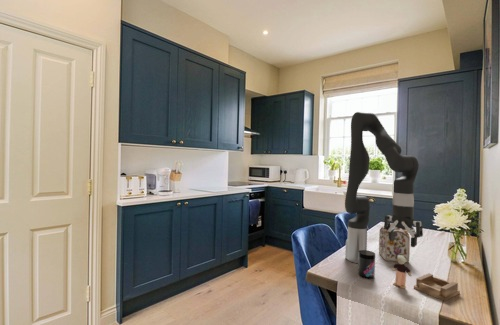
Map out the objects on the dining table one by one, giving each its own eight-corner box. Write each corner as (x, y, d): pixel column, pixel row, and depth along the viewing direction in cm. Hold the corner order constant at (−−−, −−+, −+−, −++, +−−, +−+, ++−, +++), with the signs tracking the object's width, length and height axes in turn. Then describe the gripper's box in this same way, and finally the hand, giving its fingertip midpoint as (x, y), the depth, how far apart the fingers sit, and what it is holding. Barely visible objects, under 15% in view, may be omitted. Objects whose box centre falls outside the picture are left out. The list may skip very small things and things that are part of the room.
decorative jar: (409, 263, 132) (410, 227, 132) (384, 260, 134) (385, 226, 134) (401, 254, 144) (402, 222, 143) (378, 252, 146) (379, 220, 146)
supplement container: (359, 278, 113) (360, 254, 113) (356, 272, 120) (357, 249, 120) (376, 280, 112) (377, 256, 112) (372, 273, 118) (373, 250, 118)
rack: (413, 288, 105) (414, 278, 105) (428, 281, 112) (429, 272, 111) (445, 301, 96) (445, 290, 96) (459, 293, 102) (460, 283, 102)
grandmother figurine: (389, 284, 108) (390, 254, 108) (392, 281, 111) (393, 251, 111) (410, 291, 103) (411, 259, 103) (412, 288, 105) (413, 257, 105)
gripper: (381, 202, 111) (380, 240, 111) (416, 207, 98) (415, 250, 98) (391, 201, 115) (390, 238, 115) (426, 206, 102) (425, 247, 102)
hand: (402, 243), depth 107 cm, fingers open, 8 cm apart
